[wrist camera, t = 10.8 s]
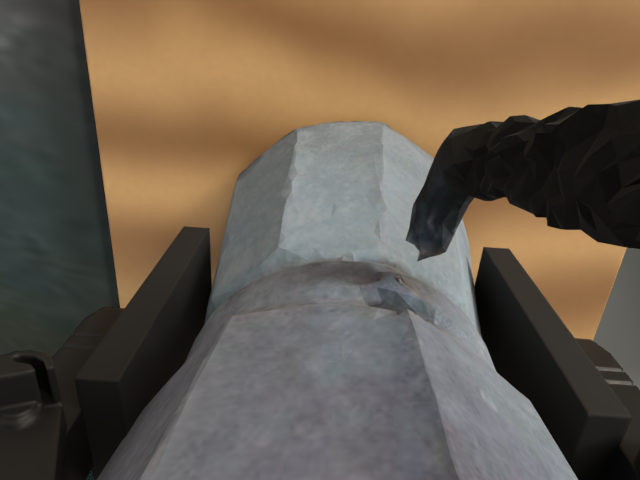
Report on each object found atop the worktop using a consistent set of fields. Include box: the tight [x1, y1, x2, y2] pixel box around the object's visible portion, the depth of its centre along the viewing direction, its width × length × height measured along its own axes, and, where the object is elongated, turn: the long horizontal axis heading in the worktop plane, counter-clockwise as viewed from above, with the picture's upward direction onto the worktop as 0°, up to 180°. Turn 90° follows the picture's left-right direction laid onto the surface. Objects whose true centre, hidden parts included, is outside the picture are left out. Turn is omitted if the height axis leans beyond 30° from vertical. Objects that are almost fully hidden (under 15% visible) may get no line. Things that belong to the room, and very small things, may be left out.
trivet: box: [79, 0, 640, 341], centre depth 18 cm, size 20×20×1 cm
